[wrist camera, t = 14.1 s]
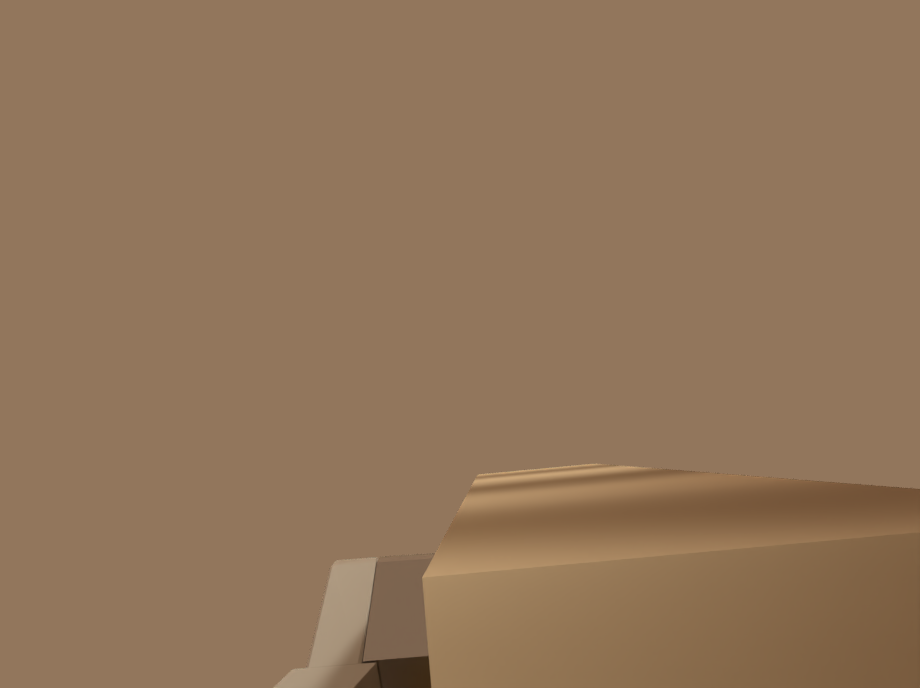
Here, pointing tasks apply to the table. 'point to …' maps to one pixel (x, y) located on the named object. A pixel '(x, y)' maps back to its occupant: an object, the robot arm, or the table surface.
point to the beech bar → (675, 582)
